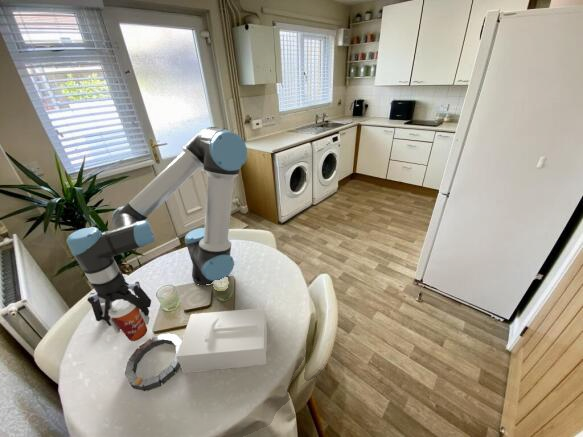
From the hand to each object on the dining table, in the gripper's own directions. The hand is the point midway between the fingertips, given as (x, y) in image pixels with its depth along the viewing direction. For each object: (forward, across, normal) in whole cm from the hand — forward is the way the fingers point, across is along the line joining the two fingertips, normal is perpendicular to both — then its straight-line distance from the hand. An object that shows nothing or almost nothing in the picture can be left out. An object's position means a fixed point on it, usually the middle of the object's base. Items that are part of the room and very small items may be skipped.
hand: (133, 325), depth 83 cm
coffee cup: (+4, 0, 0) cm, 4 cm away
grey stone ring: (+4, -8, +14) cm, 17 cm away
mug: (+5, +8, -14) cm, 17 cm away
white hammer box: (+5, -30, +17) cm, 35 cm away
